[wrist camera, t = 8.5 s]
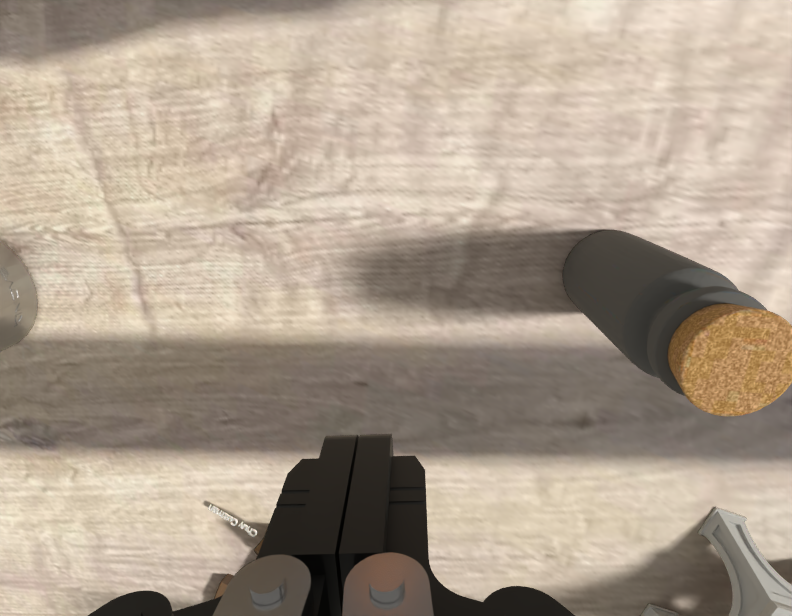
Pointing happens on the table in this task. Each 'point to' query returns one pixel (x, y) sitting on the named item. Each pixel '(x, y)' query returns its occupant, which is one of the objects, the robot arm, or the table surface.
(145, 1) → the table surface
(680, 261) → the bottle
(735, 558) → the eiffel tower
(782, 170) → the table surface
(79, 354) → the table surface
